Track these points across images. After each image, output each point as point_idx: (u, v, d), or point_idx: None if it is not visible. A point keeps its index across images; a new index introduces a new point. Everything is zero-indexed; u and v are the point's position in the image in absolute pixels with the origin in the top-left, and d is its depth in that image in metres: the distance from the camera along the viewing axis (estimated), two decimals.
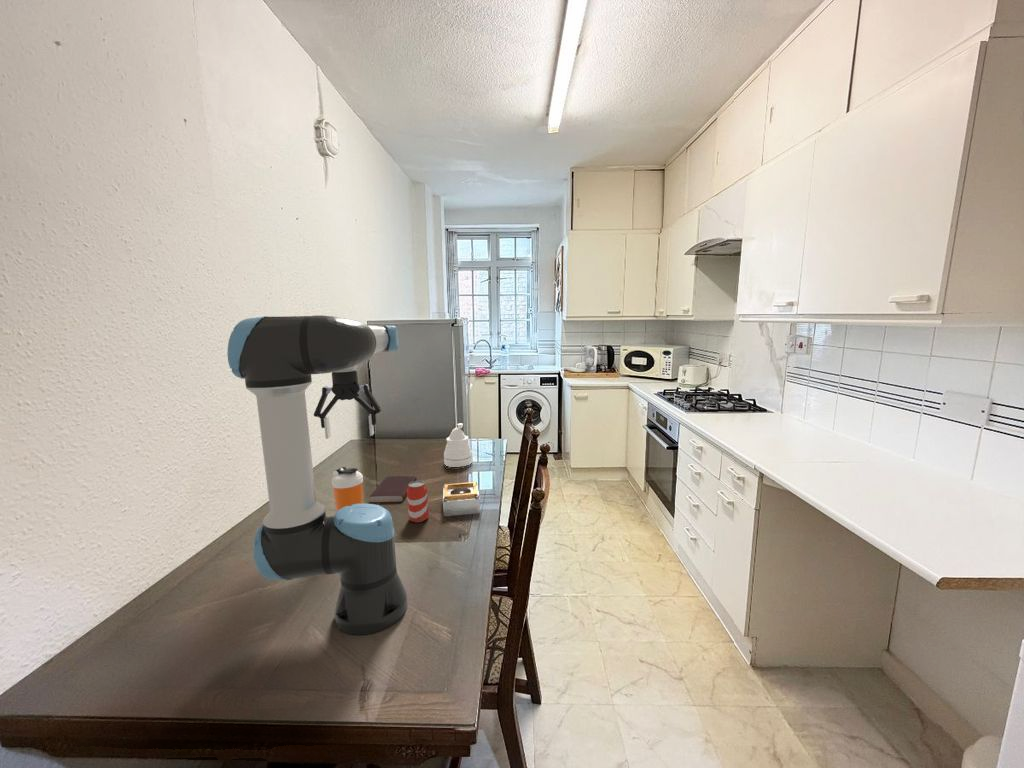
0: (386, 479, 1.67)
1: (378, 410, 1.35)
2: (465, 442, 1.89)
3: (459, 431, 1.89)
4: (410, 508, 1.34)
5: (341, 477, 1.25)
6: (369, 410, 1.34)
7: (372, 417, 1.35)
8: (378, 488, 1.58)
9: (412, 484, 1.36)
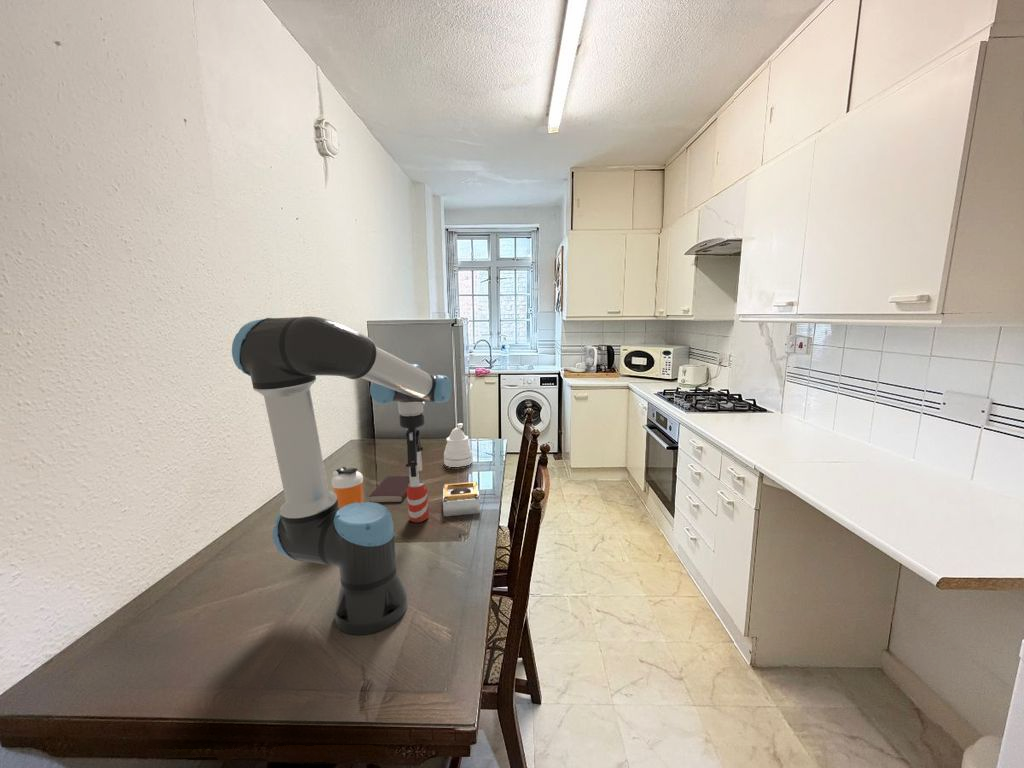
0: (386, 479, 1.67)
1: (407, 464, 1.25)
2: (465, 442, 1.89)
3: (459, 431, 1.89)
4: (410, 508, 1.34)
5: (341, 477, 1.25)
6: None
7: (410, 468, 1.28)
8: (378, 488, 1.59)
9: None
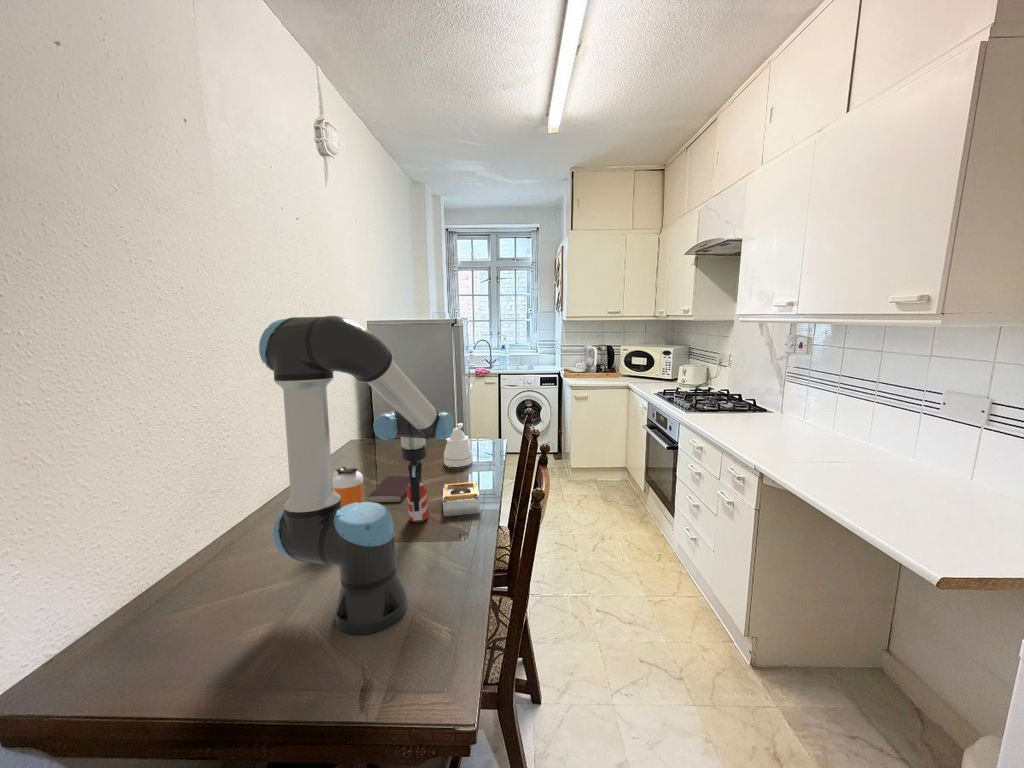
0: (386, 479, 1.67)
1: (411, 499, 1.30)
2: (465, 442, 1.89)
3: (459, 431, 1.89)
4: (410, 508, 1.34)
5: (341, 477, 1.25)
6: None
7: (414, 503, 1.32)
8: (377, 488, 1.59)
9: None
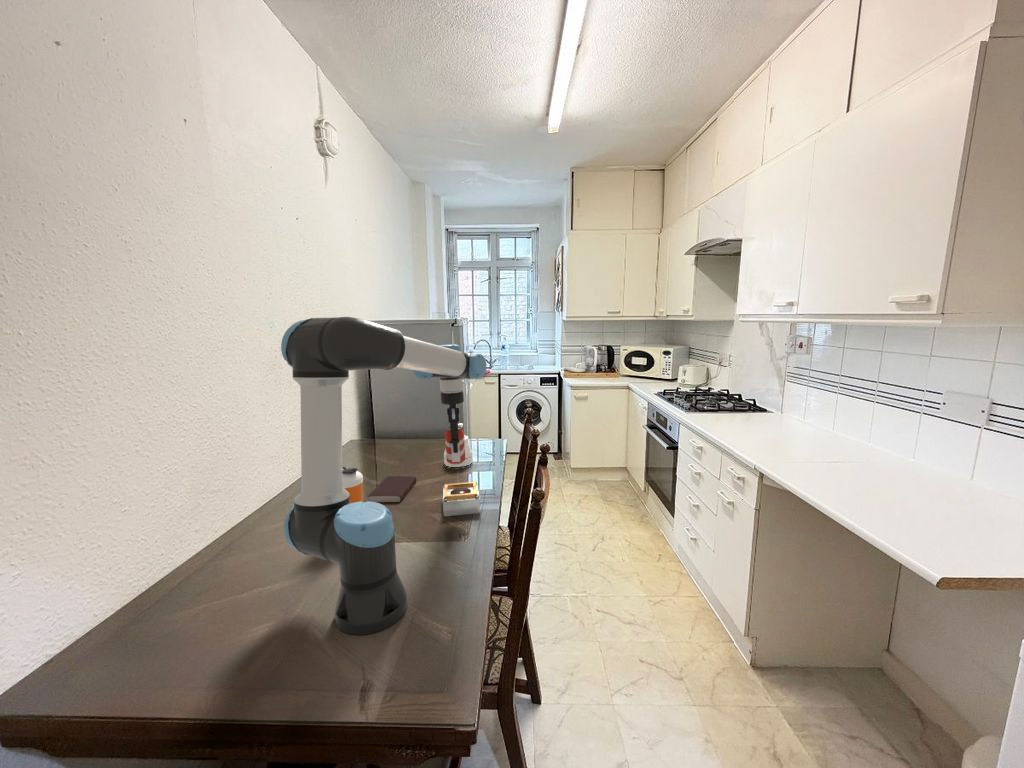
0: (386, 479, 1.67)
1: (451, 440, 1.36)
2: (465, 442, 1.89)
3: None
4: (448, 450, 1.40)
5: None
6: None
7: (453, 445, 1.38)
8: (377, 488, 1.59)
9: (450, 428, 1.42)
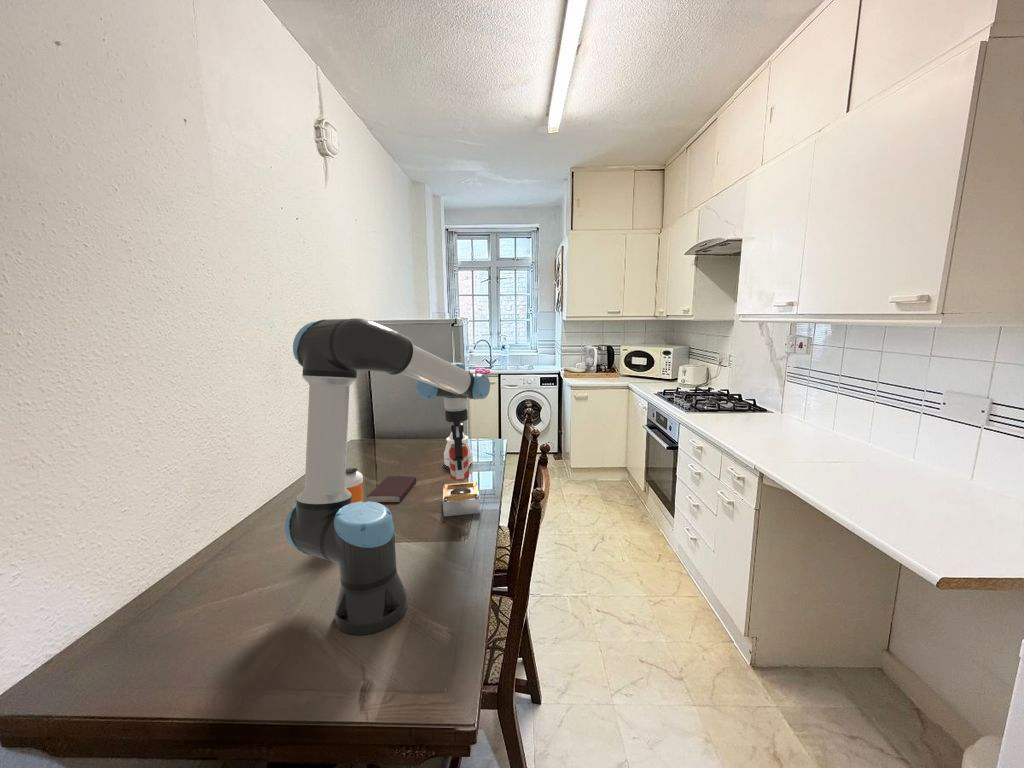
0: (386, 479, 1.67)
1: (455, 458, 1.37)
2: (465, 442, 1.89)
3: None
4: (453, 467, 1.42)
5: None
6: None
7: (457, 462, 1.40)
8: (377, 488, 1.59)
9: (454, 445, 1.44)
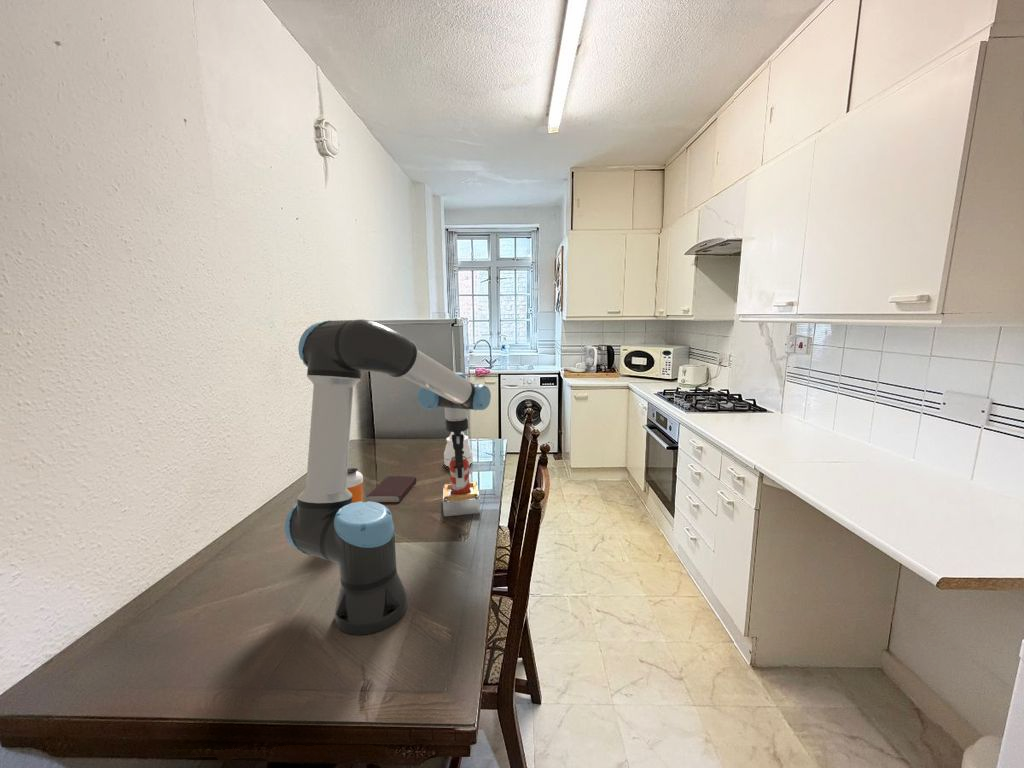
0: (386, 479, 1.68)
1: (455, 466, 1.34)
2: (465, 442, 1.89)
3: None
4: (453, 480, 1.42)
5: None
6: (455, 462, 1.37)
7: (457, 470, 1.37)
8: (376, 488, 1.59)
9: (454, 458, 1.44)
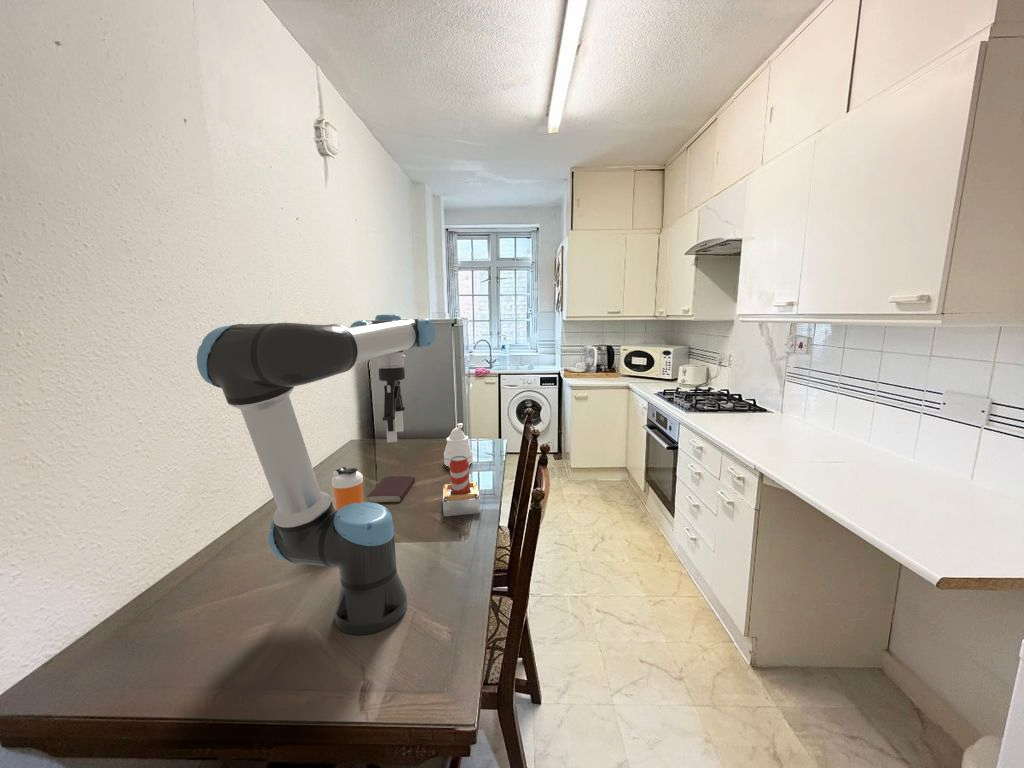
0: (384, 479, 1.67)
1: (384, 416, 1.18)
2: (465, 442, 1.89)
3: (459, 431, 1.89)
4: (453, 481, 1.42)
5: (341, 477, 1.25)
6: None
7: (388, 422, 1.21)
8: (376, 488, 1.58)
9: (454, 458, 1.44)
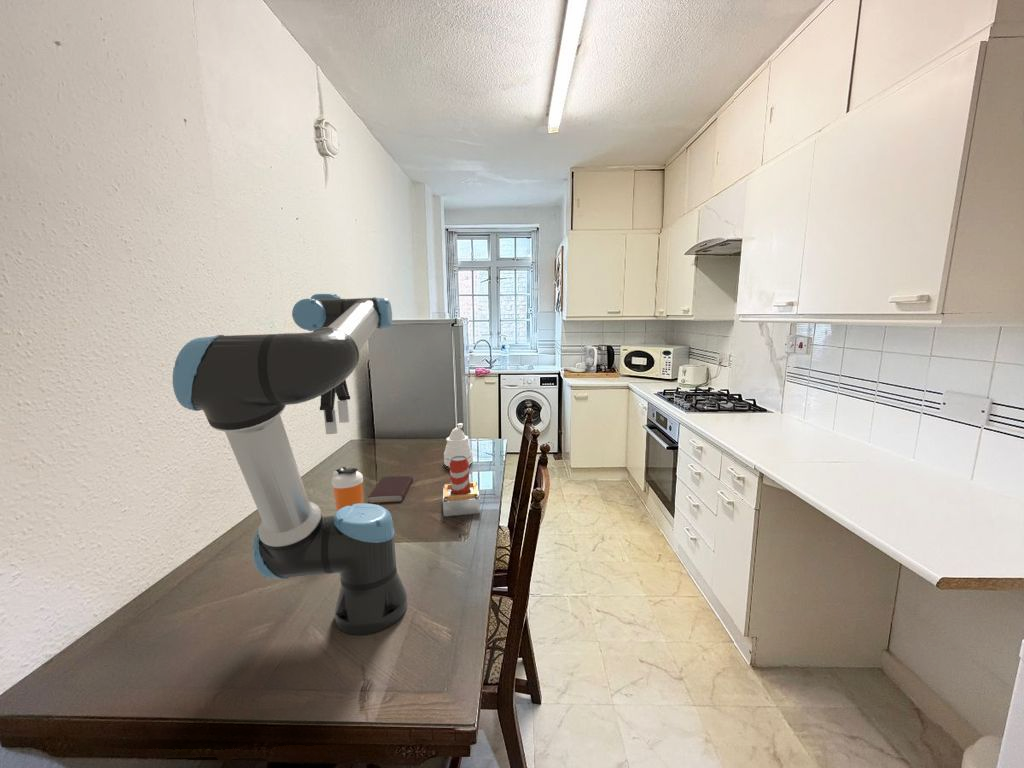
0: (382, 479, 1.67)
1: None
2: (465, 442, 1.89)
3: (459, 431, 1.89)
4: (453, 481, 1.42)
5: (341, 477, 1.25)
6: None
7: None
8: (376, 488, 1.58)
9: (454, 458, 1.44)
